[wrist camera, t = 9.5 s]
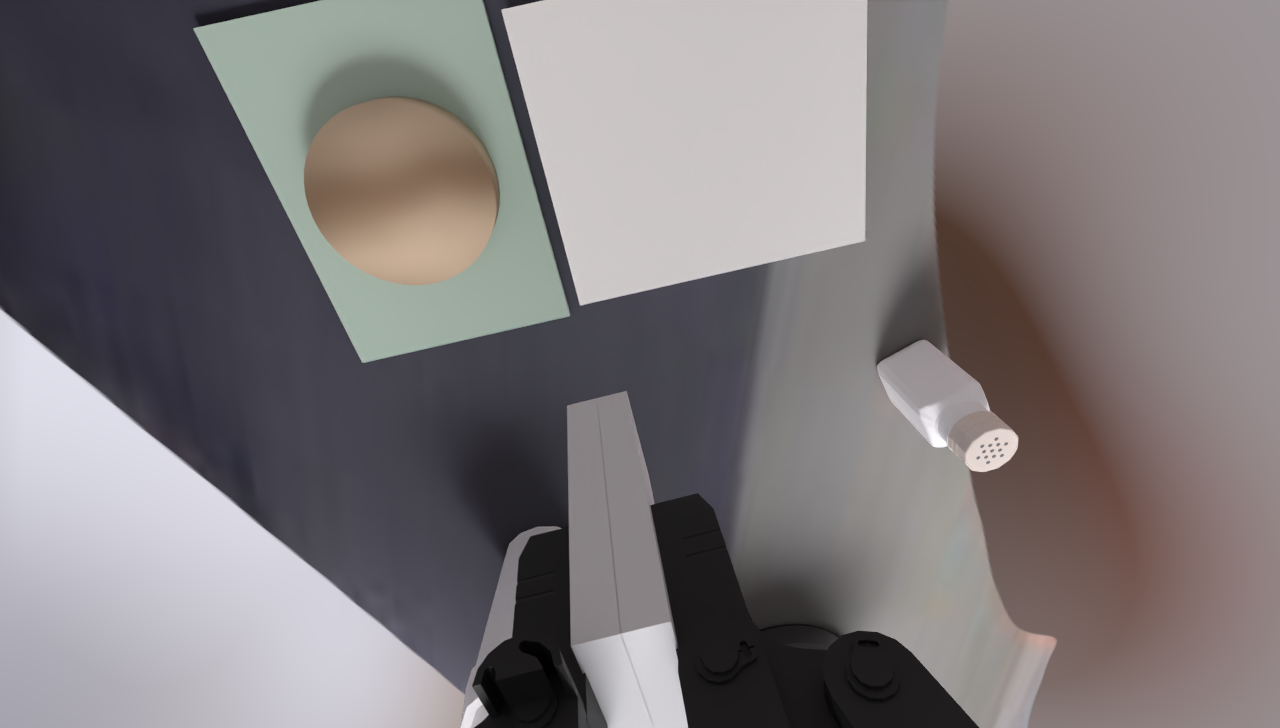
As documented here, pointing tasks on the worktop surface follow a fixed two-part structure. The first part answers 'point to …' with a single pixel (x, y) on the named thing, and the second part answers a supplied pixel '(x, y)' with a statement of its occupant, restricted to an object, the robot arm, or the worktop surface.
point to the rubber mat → (376, 68)
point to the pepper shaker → (946, 406)
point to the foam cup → (498, 622)
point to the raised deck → (695, 132)
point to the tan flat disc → (402, 190)
